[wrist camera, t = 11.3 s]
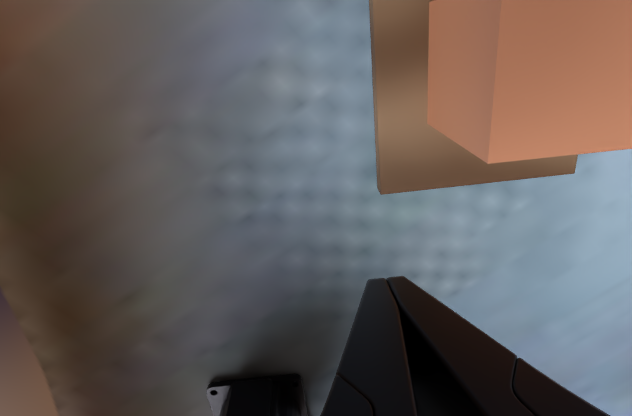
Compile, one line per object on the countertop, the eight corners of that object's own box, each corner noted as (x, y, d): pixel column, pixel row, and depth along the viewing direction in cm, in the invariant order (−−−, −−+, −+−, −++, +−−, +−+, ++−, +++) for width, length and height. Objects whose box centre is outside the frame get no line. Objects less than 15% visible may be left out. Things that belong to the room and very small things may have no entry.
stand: (562, 167, 20) (680, 224, 14) (377, 187, 21) (410, 253, 14) (607, -111, 16) (818, -217, 9) (365, -81, 16) (406, -165, 9)
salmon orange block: (535, 112, 18) (650, 146, 12) (427, 123, 18) (488, 163, 12) (551, -12, 16) (700, -45, 10) (429, 1, 16) (503, -23, 10)
